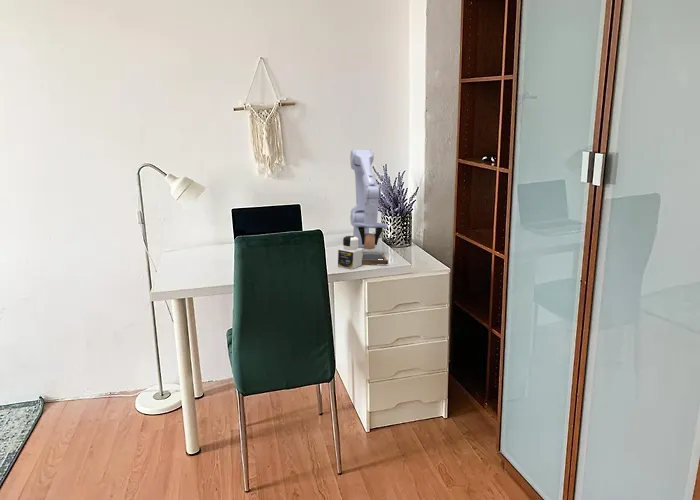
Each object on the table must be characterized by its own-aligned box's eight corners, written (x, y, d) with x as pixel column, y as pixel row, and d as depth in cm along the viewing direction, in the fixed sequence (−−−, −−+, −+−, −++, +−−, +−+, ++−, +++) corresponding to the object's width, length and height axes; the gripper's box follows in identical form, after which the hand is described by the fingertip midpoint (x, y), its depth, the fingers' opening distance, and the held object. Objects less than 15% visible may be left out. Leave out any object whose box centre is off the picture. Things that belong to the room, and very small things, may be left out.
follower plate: (362, 259, 247) (362, 253, 246) (381, 259, 248) (382, 253, 247) (362, 259, 246) (362, 253, 245) (382, 260, 247) (382, 254, 246)
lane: (357, 256, 252) (357, 251, 252) (382, 256, 253) (383, 252, 253) (361, 264, 239) (361, 260, 238) (387, 265, 240) (388, 260, 239)
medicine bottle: (337, 266, 235) (338, 236, 232) (347, 262, 241) (348, 234, 238) (352, 269, 231) (353, 239, 229) (361, 265, 237) (363, 236, 235)
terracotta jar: (362, 246, 259) (363, 233, 258) (374, 246, 260) (374, 233, 258) (364, 249, 254) (364, 235, 253) (375, 249, 255) (376, 235, 253)
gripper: (355, 214, 249) (353, 246, 252) (389, 215, 250) (387, 246, 254) (353, 211, 256) (352, 242, 259) (386, 212, 257) (384, 242, 260)
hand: (369, 244), depth 257 cm, fingers closed on terracotta jar, 5 cm apart
